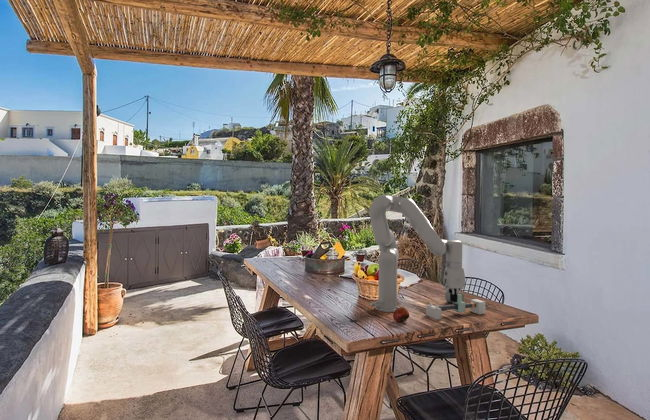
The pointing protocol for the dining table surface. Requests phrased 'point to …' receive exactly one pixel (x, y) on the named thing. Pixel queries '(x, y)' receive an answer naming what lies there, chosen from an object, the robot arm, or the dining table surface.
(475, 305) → the rail
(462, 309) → the sleeve
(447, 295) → the ceramic mug
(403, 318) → the pomegranate
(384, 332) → the dining table surface
